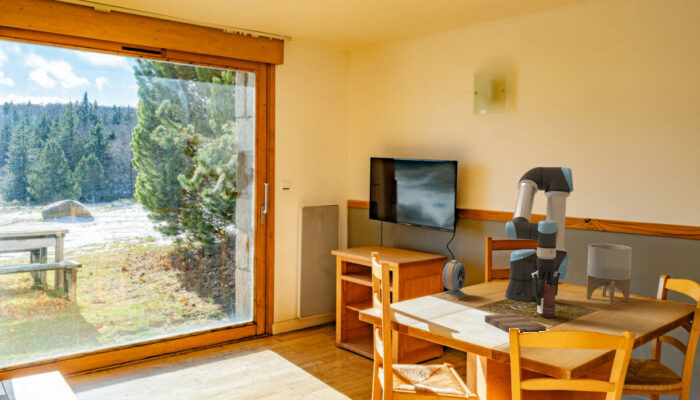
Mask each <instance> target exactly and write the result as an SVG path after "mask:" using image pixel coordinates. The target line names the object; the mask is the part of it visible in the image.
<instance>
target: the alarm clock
mask: <svg viewBox="0 0 700 400" xmlns="http://www.w3.org/2000/svg"><path fill="white" fill-rule="evenodd" d="M466 274H467V273H466V268H465V265H464V264H463V263H462V262H460V261H459V260H458V259H452V260H451V261H449V262H448V263H446V264H445V266H444V268H443V271H442V283H443V287H444V288H446V289H447V290H448V291H446V292H444V293H442V294H441V295H440V296H439V298H441V297H445V298H444V299H448V298H452V299H451V300H455V299H458V300H457V301H459V299H460V300H461V298H462V299H464V298H465V297H467V296H468V294H467V293H465V292H463V291H462V288H463V287H464V285H465V282H466ZM466 295H467V296H466Z"/></svg>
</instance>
